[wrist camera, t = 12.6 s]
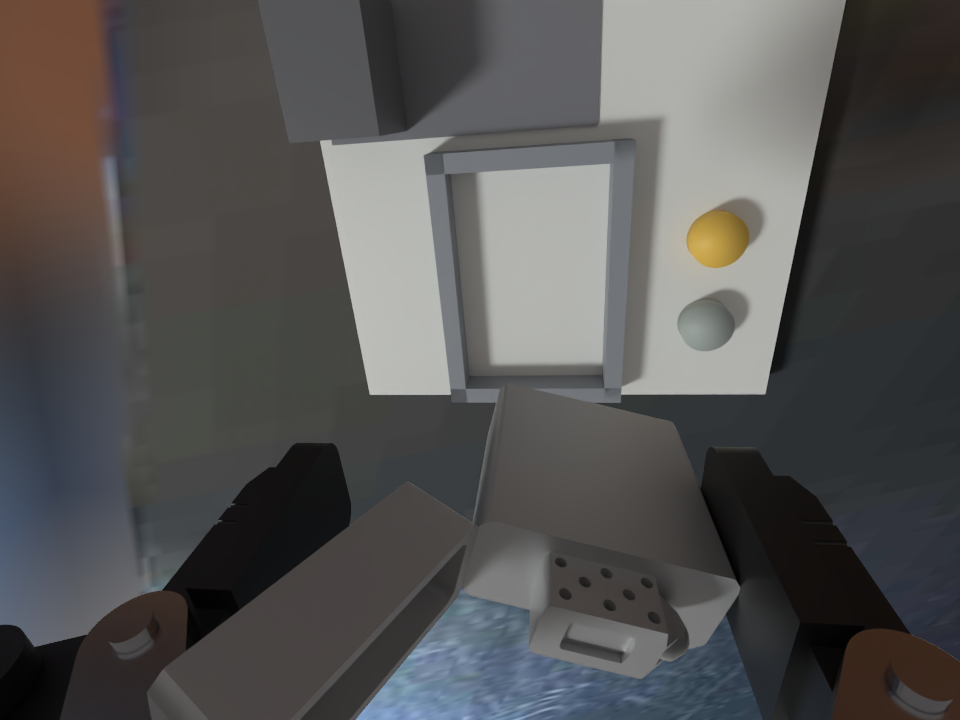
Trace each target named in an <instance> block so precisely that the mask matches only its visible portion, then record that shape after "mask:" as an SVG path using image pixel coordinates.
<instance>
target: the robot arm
mask: <svg viewBox="0 0 960 720" xmlns="http://www.w3.org/2000/svg"><path fill="white" fill-rule="evenodd" d="M701 491H702V494H703V496H704V499H705V501H706V504H707V506H708V509H709V511H710V514H711V516H712V519H713V521H714V524H715V526H716V529H717V531H718V534H719V536H720V539H721V541H722V544H723V546H724V548H725V551H726V553H727V556H728V558H729V561H730V563H731V566H732V568H733V571H734V573H735V576H736V578H737V581H738V583H739V586H740V590H739V595H738V596H737V598H736V599H735V601H734V602H733V604H732V605H731V607H730V608H729V610H728V611H727V613H726V616H727V619H728V622H729V624H730V627H731V630H732V633H733V636H734V639H735V642H736V644H737V647H738V650H739V653H740V656H741V659H742V662H743V664H744V667H745V670H746V673H747V676H748V679H749V681H750V684H751V687H752V690H753V693H754V696H755V699H756V701H757V704H758V707H759V710H760V713H761V716H762V719H763V720H960V662H959V661H958V660H957V659H955V658H954V657H952V656H951V655H950V654H948V653H947V652H945V651H943V650H942V649H940V648H938V647H937V646H935V645H933V644H931V643H929V642H927V641H925V640H923V639H921V638H918V637H916V636H913V635H911V634H910V632H909V631H908V630H907V628H906V627H905V625H904V624H903V622H902V621H901V619H900V618H899V617H898V615H897V614H896V612H895V611H894V609H893V608H892V606H891V605H890V603H889V602H888V601H887V599H886V598H885V596H884V595H883V593H882V592H881V590H880V589H879V587H878V586H877V585H876V583H875V582H874V580H873V579H872V577H871V576H870V574H869V573H868V571H867V570H866V569H865V567H864V566H863V564H862V563H861V561H860V560H859V558H858V557H857V555H856V554H855V553H854V551H853V550H852V548H851V547H848V546H847V541H846V539H845V538H844V537H843V535H842V534H841V532H840V531H839V529H838V528H837V526H833V521H832V519H831V518H830V516H829V515H828V513H827V512H826V510H825V509H824V507H823V506H822V505H821V503H820V502H819V500H818V499H817V497H816V496H815V495H813V494H812V493H811V492H809V491H808V490H807V489H806V488H804V487H803V486H802V485H800V484H799V483H798V482H796V481H795V480H794V479H793V478H791V477H790V476H773V474H772V472H771V471H770V469H769V468H768V466H767V464H766V463H765V461H764V459H763V458H762V456H761V454H760V453H759V451H758V450H757V449H756V448H754V447H710V448H709V449H708V451H707V454H706V459H705V465H704V472H703V479H702V486H701ZM350 518H351V502H350V497H349V493H348V489H347V485H346V481H345V477H344V473H343V469H342V465H341V461H340V456H339V453H338V450H337V447H336V446H335V445H334V444H332V443H296V444H294V445H293V446H292V447H291V448H290V449H289V451H288V452H287V453H286V455H285V456H284V457H283V459H282V460H281V461H280V463H279V464H278V465H277V467H269V468H268V469H267V470H265V471H264V472H262V473H261V474H260V475H258V476H257V477H256V478H254V479H253V480H251V481H250V482H249V483H247V484H246V486H245V487H244V488H243V489H242V491H241V492H240V493H239V494H238V496H237V497H236V498H235V499H234V501H233V502H232V503H231V507H230V508H227V509H226V511H225V512H224V513H223V514H222V516H221V517H220V518H219V519H218V524H217V525H214V526H213V527H212V528H211V530H210V531H209V532H208V533H207V535H206V536H205V537H204V538H203V540H202V541H201V542H200V543H199V545H198V546H197V547H196V548H195V550H194V551H193V552H192V553H191V555H190V556H189V557H188V558H187V560H186V561H185V562H184V563H183V565H182V566H181V567H180V568H179V570H178V571H177V572H176V574H175V575H174V576H173V577H172V579H171V580H170V581H169V582H168V584H167V585H166V586H165V587H164V589H163V590H162V591H155V592H150V593H146V594H143V595H140V596H138V597H135V598H133V599H131V600H129V601H127V602H125V603H123V604H121V605H120V606H118V607H117V608H115V609H114V610H112V611H111V612H110V613H108V614H107V615H106V616H104V617H103V618H102V619H101V620H100V621H99V622H98V623H97V624H96V625H95V626H94V627H93V628H92V629H91V631H90V632H89V633H88V634H87V635H83V636H80V637H75V638H71V639H67V640H63V641H58V642H54V643H50V644H46V645H42V646H38V647H34V646H33V645H32V643H31V642H30V640H29V639H28V638H27V636H26V635H25V634H24V632H23V631H22V630H21V629H20V628H19V627H17V626H13V625H0V720H152V718H151V713H150V708H149V703H148V697H147V692H148V690H149V689H150V687H151V686H152V684H153V683H154V681H155V680H156V679H157V677H158V676H159V674H160V673H161V671H162V670H163V669H164V668H165V667H166V666H167V665H169V664H170V663H171V662H173V661H174V660H175V659H177V658H178V657H179V656H181V655H182V654H183V653H184V652H186V651H187V650H188V649H190V648H191V647H192V646H194V645H195V644H196V643H197V642H199V641H200V640H201V639H203V638H204V637H205V636H207V635H208V634H209V633H210V632H212V631H213V630H214V629H216V628H217V627H218V626H220V625H221V624H222V623H223V622H225V621H226V620H227V619H229V618H230V617H231V616H233V615H234V614H235V613H237V612H238V611H239V610H240V609H242V608H243V607H244V606H246V605H247V604H248V603H250V602H251V601H252V600H253V599H255V598H256V597H257V596H259V595H260V594H261V593H263V592H264V591H265V590H266V589H268V588H269V587H270V586H272V585H273V584H274V583H276V582H277V581H278V580H279V579H281V578H282V577H283V576H285V575H286V574H287V573H289V572H290V571H291V570H293V569H294V568H295V567H296V566H298V565H299V564H300V563H302V562H303V561H304V560H306V559H307V558H308V557H309V556H311V555H312V554H313V553H315V552H316V551H317V550H319V549H320V548H321V547H322V546H324V545H325V544H326V543H328V542H329V541H330V540H332V539H333V538H334V537H336V536H337V535H338V534H339V533H341V532H342V531H343V530H345V529H346V528H347V527H349V523H350Z"/></svg>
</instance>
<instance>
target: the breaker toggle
mask: <svg viewBox="0 0 960 720" xmlns="http://www.w3.org/2000/svg"><path fill="white" fill-rule="evenodd" d="M258 4H259V8H260V13H261V17H262V22H263V26H264V31H265V35H266V40H267V44H268V49H269V53H270V58H271V62H272V67H273V71H274V76H275V80H276V85H277V89H278V94H279V98H280V103H281V107H282V112H283V116H284V121H285V125H286V130H287V135H288V139H289V143H296V142H309V141H322V140H335V139H348V138H361V137H374V136H383V135H388V134H394V133H399V132H405V131H407V125H406V117H405V109H404V101H403V93H402V85H401V77H400V69H399V61H398V53H397V45H396V37H395V29H394V21H393V13H392V5H391V1H389V0H258Z"/></svg>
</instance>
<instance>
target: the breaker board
mask: <svg viewBox="0 0 960 720" xmlns="http://www.w3.org/2000/svg"><path fill="white" fill-rule="evenodd" d="M389 1H391V5H392V13H393V21H394V29H395V37H396V45H397V53H398V61H399V69H400V77H401V85H402V93H403V101H404V109H405V117H406V125H407V131H405V132H399V133H394V134H388V135H383V136H374V137H361V138H348V139H335V140H322V141H320V143H321V148H322V153H323V158H324V164H325V169H326V174H327V179H328V184H329V189H330V194H331V199H332V204H333V209H334V214H335V220H336V225H337V230H338V235H339V240H340V245H341V250H342V255H343V260H344V265H345V270H346V275H347V281H348V286H349V291H350V296H351V301H352V306H353V311H354V316H355V321H356V326H357V331H358V336H359V342H360V347H361V352H362V357H363V362H364V367H365V372H366V377H367V382H368V387H369V392H370V395H451V400H452V402H497V398H498V394H499V390H500V388H501V387H503V386H505V385H507V384H509V383H510V384H514V385H518V386H523V387H527V388H531V389H535V390H539V391H544V392H548V393H552V394H556V395H561V396H565V397H569V398H573V399H577V400H582V401H586V402H590V403H621V394H765V393H766V388H767V383H768V378H769V373H770V368H771V363H772V359H773V354H774V349H775V344H776V339H777V334H778V329H779V324H780V320H781V315H782V310H783V305H784V300H785V295H786V290H787V285H788V280H789V276H790V271H791V266H792V261H793V256H794V251H795V246H796V241H797V237H798V232H799V227H800V222H801V217H802V212H803V207H804V202H805V198H806V193H807V188H808V183H809V178H810V173H811V168H812V163H813V159H814V154H815V149H816V144H817V139H818V134H819V129H820V124H821V119H822V115H823V110H824V105H825V100H826V95H827V90H828V85H829V80H830V76H831V71H832V66H833V61H834V56H835V51H836V46H837V41H838V37H839V32H840V27H841V22H842V17H843V12H844V7H845V2H846V0H389Z"/></svg>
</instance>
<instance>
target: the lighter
mask: <svg viewBox="0 0 960 720" xmlns="http://www.w3.org/2000/svg"><path fill="white" fill-rule="evenodd" d="M462 587H463V588H464V590H465V591H466V592H467V593H468V594H469V595H470V596H475V597H479V598H483V599H487V600H491V601H495V602H499V603H504V604H508V605H512V606H516V607H520V608H524V609H528V610H530V627H529V648H530V650H531V652H532V653H535V654H539V655H543V656H547V657H551V658H555V659H560V660H564V661H568V662H572V663H576V664H580V665H584V666H588V667H593V668H597V669H601V670H605V671H609V672H613V673H617V674H622V675H626V676H630V677H634V678H638V679H642V678H643V677H644V676H646V675H647V674H648V673H649V672H650V671H652V670H653V669H654V668H655V667H656V666H658V665H659V664H660V663H661V662H662V661H663V660H666V661H670V662H671V661H673V660H675V659H677V658H678V657H680V656H682V655H684V654H685V653H686V652H687V651H688V648H690V649H691V648H695V647H698V646H702V645H705V644H706V642H707V641H708V639H709V638H710V636H711V635H712V633H713V632H714V630H715V629H716V627H717V626H718V625H719V623H720V622H721V620H722V619H723V617H724V616H725V614H726V613H727V611H728V610H729V608H730V607H731V605H732V604H733V602H734V601H735V599H736V598H737V596H738V595H739V590H740V586H739V583H738V581H737V578H736V576H735V573H734V571H733V568H732V566H731V563H730V561H729V558H728V556H727V553H726V551H725V548H724V546H723V544H722V541H721V539H720V536H719V534H718V531H717V529H716V526H715V524H714V521H713V519H712V516H711V514H710V511H709V509H708V506H707V504H706V501H705V499H704V496H703V494H702V491H701V488H700V486H699V483H698V481H697V478H696V476H695V473H694V471H693V468H692V466H691V464H690V461H689V459H688V456H687V454H686V451H685V449H684V446H683V444H682V441H681V439H680V436H679V434H678V431H677V429H676V428H675V426H674V424H673V422H670V421H666V420H662V419H658V418H654V417H649V416H645V415H641V414H637V413H632V412H628V411H624V410H620V409H616V408H611V407H607V406H603V405H599V404H594V403H590V402H586V401H582V400H577V399H573V398H569V397H565V396H561V395H556V394H552V393H548V392H544V391H539V390H535V389H531V388H527V387H523V386H518V385H514V384H510V383H509V384H507V385H505V386H503V387H501V388H500V390H499V394H498V398H497V402H496V406H495V410H494V414H493V417H492V421H491V425H490V429H489V433H488V437H487V443H486V448H485V454H484V460H483V466H482V471H481V477H480V483H479V488H478V494H477V500H476V505H475V511H474V517H473V523H472V522H471V521H469V520H467V519H466V518H464V517H463V516H461V515H460V514H458V513H457V512H455V511H454V510H452V509H450V508H449V507H447V506H446V505H444V504H443V503H441V502H440V501H438V500H437V499H435V498H433V497H432V496H430V495H429V494H427V493H426V492H424V491H423V490H421V489H419V488H418V487H416V486H415V485H413V484H412V483H410V482H408V481H407V482H406V483H405V484H403V485H402V486H401V487H399V488H398V489H397V490H395V491H394V492H393V493H392V494H390V495H389V496H388V497H386V498H385V499H384V500H382V501H381V502H380V503H378V504H377V505H376V506H375V507H373V508H372V509H371V510H369V511H368V512H367V513H365V514H364V515H363V516H362V517H360V518H359V519H358V520H356V521H355V522H354V523H352V524H351V525H350V526H349V527H347V528H346V529H345V530H343V531H342V532H341V533H339V534H338V535H337V536H336V537H334V538H333V539H332V540H330V541H329V542H328V543H326V544H325V545H324V546H322V547H321V548H320V549H319V550H317V551H316V552H315V553H313V554H312V555H311V556H309V557H308V558H307V559H306V560H304V561H303V562H302V563H300V564H299V565H298V566H296V567H295V568H294V569H293V570H291V571H290V572H289V573H287V574H286V575H285V576H283V577H282V578H281V579H279V580H278V581H277V582H276V583H274V584H273V585H272V586H270V587H269V588H268V589H266V590H265V591H264V592H263V593H261V594H260V595H259V596H257V597H256V598H255V599H253V600H252V601H251V602H250V603H248V604H247V605H246V606H244V607H243V608H242V609H240V610H239V611H238V612H237V613H235V614H234V615H233V616H231V617H230V618H229V619H227V620H226V621H225V622H223V623H222V624H221V625H220V626H218V627H217V628H216V629H214V630H213V631H212V632H210V633H209V634H208V635H207V636H205V637H204V638H203V639H201V640H200V641H199V642H197V643H196V644H195V645H194V646H192V647H191V648H190V649H188V650H187V651H186V652H184V653H183V654H182V655H181V656H179V657H178V658H177V659H175V660H174V661H173V662H171V663H170V664H169V665H167V666H166V667H165V668H164V669H163V670H162V671H161V673H160V674H159V676H158V677H157V679H156V680H155V681H154V683H153V684H152V686H151V687H150V689H149V690H148V692H147V697H148V703H149V708H150V713H151V718H152V720H355V719H356V718H357V717H358V716H359V715H360V713H361V712H362V711H363V710H364V709H365V707H366V706H367V705H368V704H369V703H370V701H371V700H372V699H373V698H374V697H375V695H376V694H377V693H378V692H379V691H380V689H381V688H382V687H383V686H384V685H385V683H386V682H387V681H388V680H389V679H390V677H391V676H392V675H393V674H394V673H395V671H396V670H397V669H398V668H399V667H400V665H401V664H402V663H403V662H404V661H405V659H406V658H407V657H408V656H409V655H410V653H411V652H412V651H413V650H414V649H415V647H416V646H417V645H418V644H419V643H420V641H421V640H422V639H423V638H424V637H425V635H426V634H427V633H428V632H429V631H430V629H431V628H432V627H433V626H434V625H435V623H436V622H437V621H438V620H439V619H440V617H441V616H442V615H443V614H444V613H445V611H446V610H447V609H448V608H449V607H450V605H451V604H452V603H453V602H454V601H455V599H456V597H457V596H458V594H459V592H460V590H461V588H462Z"/></svg>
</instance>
